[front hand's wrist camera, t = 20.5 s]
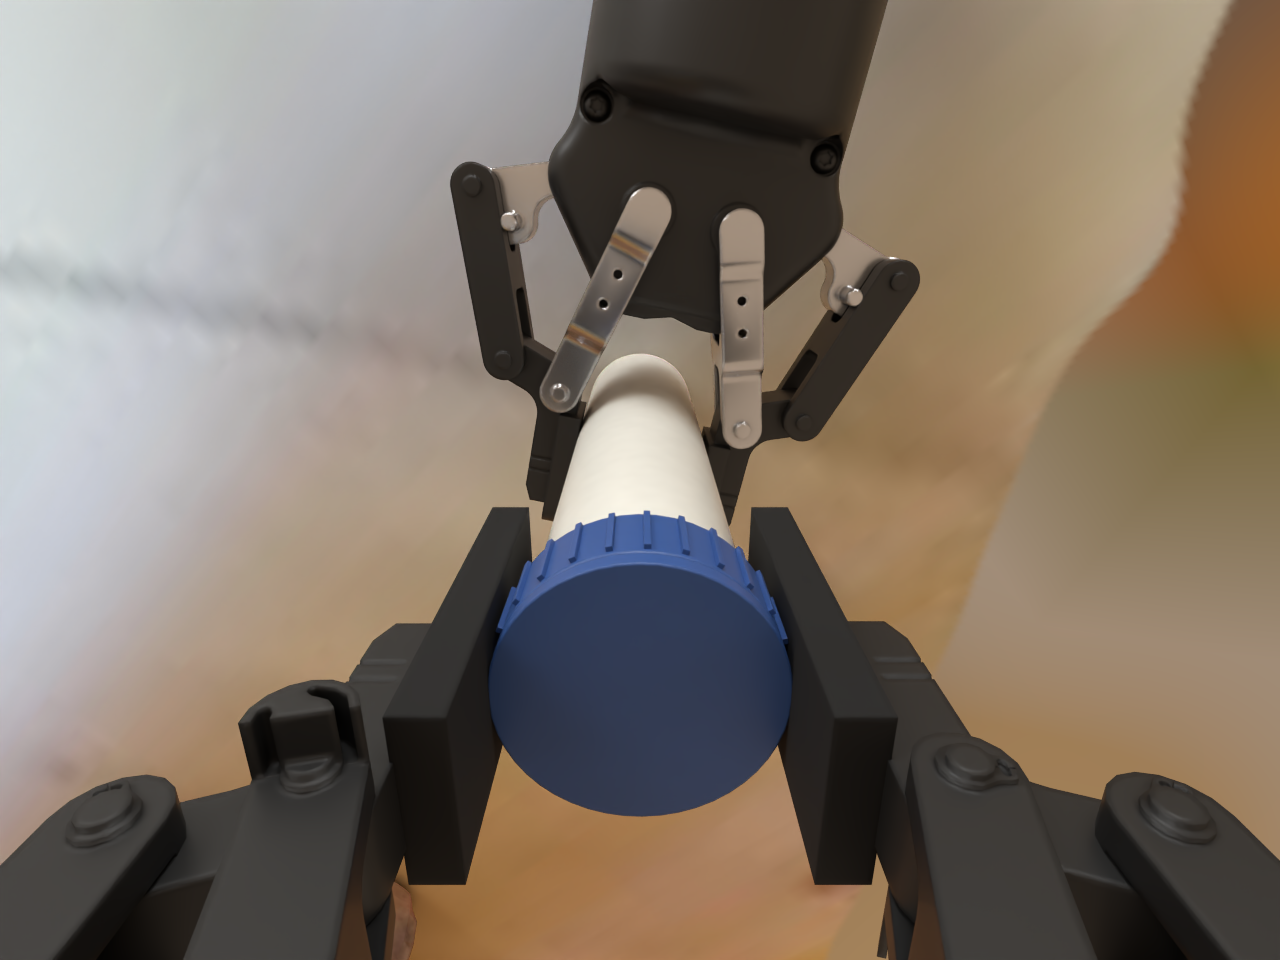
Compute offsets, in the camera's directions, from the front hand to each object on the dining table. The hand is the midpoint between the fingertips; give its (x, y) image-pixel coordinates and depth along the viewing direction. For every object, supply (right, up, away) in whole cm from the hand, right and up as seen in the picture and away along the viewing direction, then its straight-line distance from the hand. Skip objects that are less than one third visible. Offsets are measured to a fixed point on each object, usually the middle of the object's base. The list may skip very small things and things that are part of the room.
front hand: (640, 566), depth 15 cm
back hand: (0, 0, +9) cm, 9 cm away
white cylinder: (0, +5, +14) cm, 15 cm away
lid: (0, -1, -4) cm, 4 cm away
